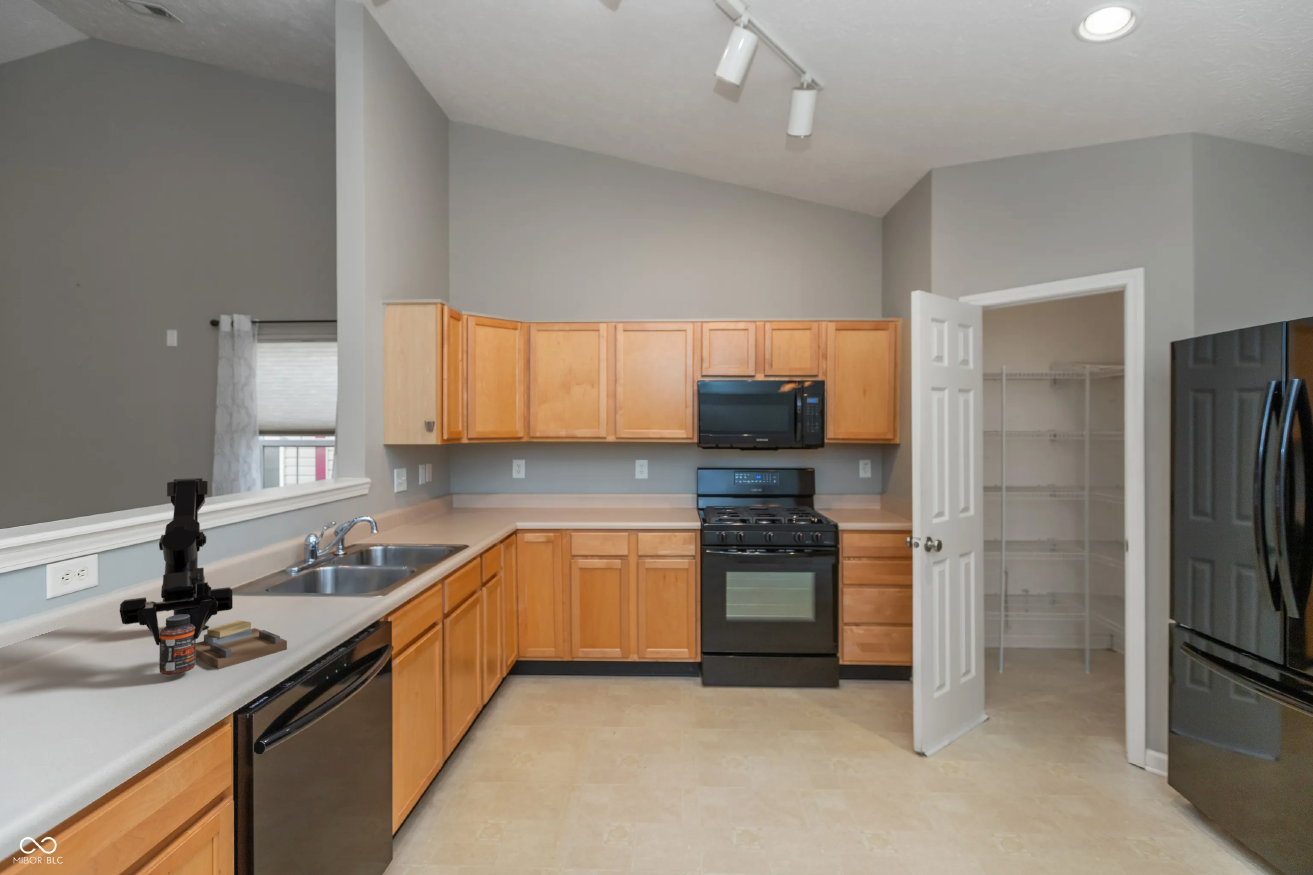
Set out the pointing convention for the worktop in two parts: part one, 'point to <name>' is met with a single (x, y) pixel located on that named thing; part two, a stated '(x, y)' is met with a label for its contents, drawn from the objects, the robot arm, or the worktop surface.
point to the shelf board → (236, 644)
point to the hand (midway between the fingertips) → (177, 641)
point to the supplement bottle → (177, 645)
